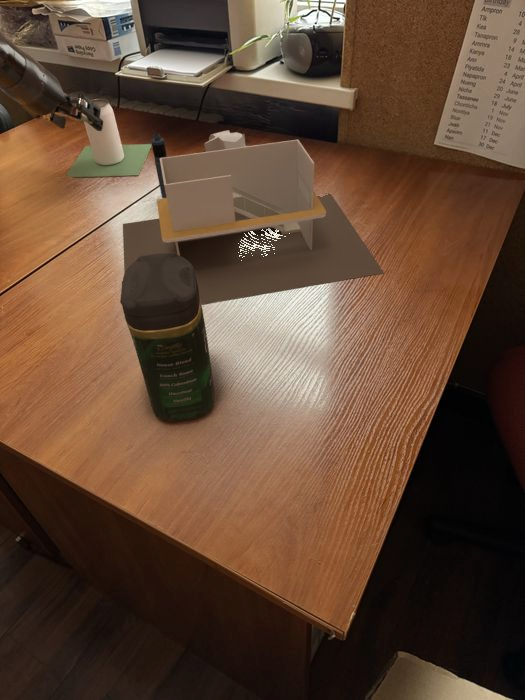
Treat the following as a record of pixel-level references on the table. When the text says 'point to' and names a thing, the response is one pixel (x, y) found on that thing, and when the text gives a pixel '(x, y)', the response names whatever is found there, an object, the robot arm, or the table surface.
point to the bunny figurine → (224, 141)
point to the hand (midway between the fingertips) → (82, 125)
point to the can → (105, 136)
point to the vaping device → (159, 153)
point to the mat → (126, 167)
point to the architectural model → (250, 223)
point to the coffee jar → (169, 335)
